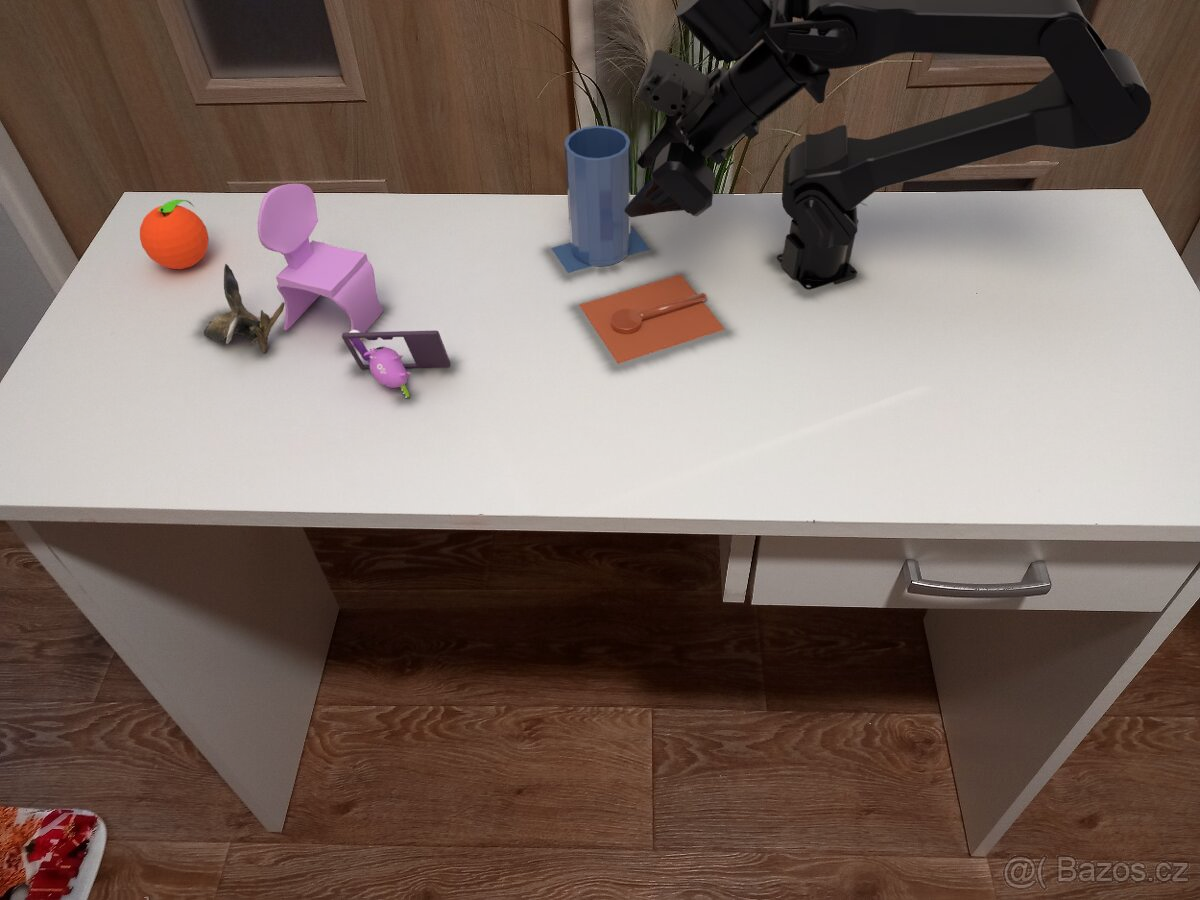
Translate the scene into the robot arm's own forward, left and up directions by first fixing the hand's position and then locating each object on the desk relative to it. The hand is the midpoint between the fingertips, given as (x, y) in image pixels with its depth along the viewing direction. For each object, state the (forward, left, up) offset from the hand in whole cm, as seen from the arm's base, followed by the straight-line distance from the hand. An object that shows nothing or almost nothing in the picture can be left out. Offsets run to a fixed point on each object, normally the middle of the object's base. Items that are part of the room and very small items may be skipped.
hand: (633, 188), depth 95 cm
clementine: (+46, -21, -9) cm, 51 cm away
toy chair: (+33, -3, -9) cm, 34 cm away
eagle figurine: (+42, -5, -9) cm, 43 cm away
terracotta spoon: (+2, +11, -8) cm, 14 cm away
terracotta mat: (+3, +11, -8) cm, 14 cm away
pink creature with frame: (+29, +9, -9) cm, 32 cm away
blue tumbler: (+3, -2, -8) cm, 9 cm away
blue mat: (+3, -2, -8) cm, 9 cm away
